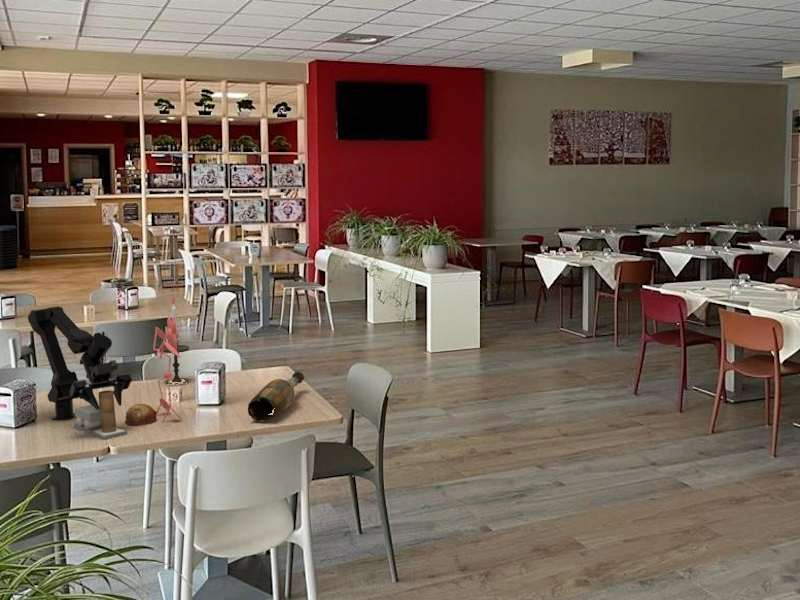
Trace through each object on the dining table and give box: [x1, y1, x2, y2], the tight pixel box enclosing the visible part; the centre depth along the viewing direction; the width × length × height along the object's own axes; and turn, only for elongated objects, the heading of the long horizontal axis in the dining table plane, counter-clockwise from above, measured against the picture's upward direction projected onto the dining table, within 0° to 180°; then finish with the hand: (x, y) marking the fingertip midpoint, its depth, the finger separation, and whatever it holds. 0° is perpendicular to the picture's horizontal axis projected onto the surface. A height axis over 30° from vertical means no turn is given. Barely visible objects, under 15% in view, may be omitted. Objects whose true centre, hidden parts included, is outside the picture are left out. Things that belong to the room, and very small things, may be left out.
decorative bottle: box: [247, 371, 305, 424], centre depth 309 cm, size 11×11×45 cm
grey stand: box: [72, 404, 128, 441], centre depth 280 cm, size 20×8×6 cm, turn 47°
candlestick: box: [160, 296, 190, 385], centre depth 343 cm, size 11×11×35 cm
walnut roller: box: [97, 390, 117, 432], centre depth 276 cm, size 4×4×12 cm
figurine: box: [152, 315, 198, 427], centre depth 295 cm, size 15×26×35 cm, turn 30°
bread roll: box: [124, 403, 157, 427], centre depth 291 cm, size 10×10×8 cm
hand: (109, 407), depth 274 cm, fingers open, 7 cm apart
